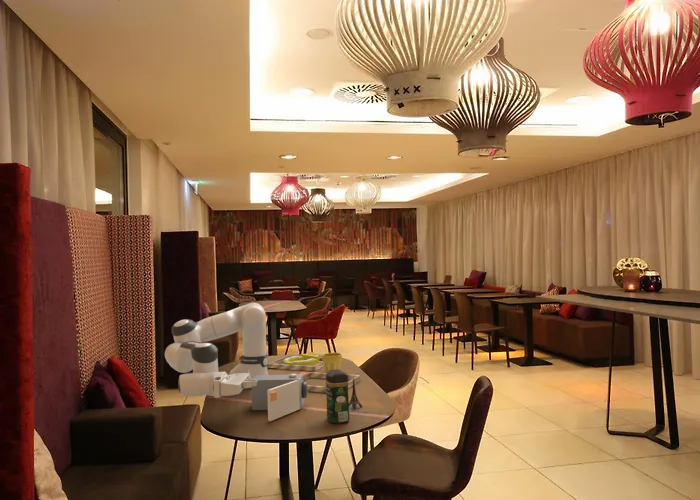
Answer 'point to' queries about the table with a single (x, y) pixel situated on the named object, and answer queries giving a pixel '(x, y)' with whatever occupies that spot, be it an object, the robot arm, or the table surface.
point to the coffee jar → (337, 396)
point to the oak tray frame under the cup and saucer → (323, 375)
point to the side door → (284, 399)
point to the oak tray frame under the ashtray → (294, 367)
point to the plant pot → (332, 361)
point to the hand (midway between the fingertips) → (257, 382)
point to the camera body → (271, 382)
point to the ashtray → (302, 360)
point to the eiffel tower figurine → (354, 401)
